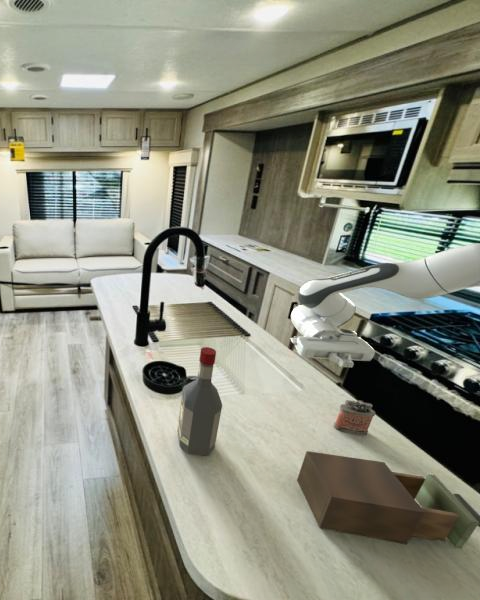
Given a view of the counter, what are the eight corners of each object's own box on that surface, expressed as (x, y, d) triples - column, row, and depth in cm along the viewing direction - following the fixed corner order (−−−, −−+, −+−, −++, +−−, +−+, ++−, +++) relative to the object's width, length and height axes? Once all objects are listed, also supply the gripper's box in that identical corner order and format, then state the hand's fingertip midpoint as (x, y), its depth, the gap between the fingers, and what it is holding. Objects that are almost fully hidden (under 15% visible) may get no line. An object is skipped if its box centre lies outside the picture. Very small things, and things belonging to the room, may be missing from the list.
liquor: (208, 432, 91) (223, 343, 80) (215, 458, 83) (233, 362, 72) (176, 428, 93) (186, 340, 82) (179, 453, 85) (192, 359, 74)
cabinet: (370, 492, 73) (384, 462, 70) (406, 544, 63) (425, 512, 59) (296, 480, 77) (306, 450, 73) (319, 528, 66) (331, 496, 63)
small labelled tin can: (363, 427, 92) (374, 400, 88) (369, 436, 89) (381, 408, 85) (331, 422, 94) (340, 395, 90) (336, 431, 91) (346, 403, 87)
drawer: (442, 502, 70) (457, 477, 67) (487, 553, 60) (506, 527, 57) (347, 487, 74) (357, 463, 71) (375, 533, 64) (388, 507, 61)
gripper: (291, 328, 103) (312, 355, 91) (360, 331, 100) (391, 359, 88) (286, 343, 106) (305, 371, 94) (352, 346, 103) (381, 375, 91)
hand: (347, 365), depth 91 cm, fingers closed
